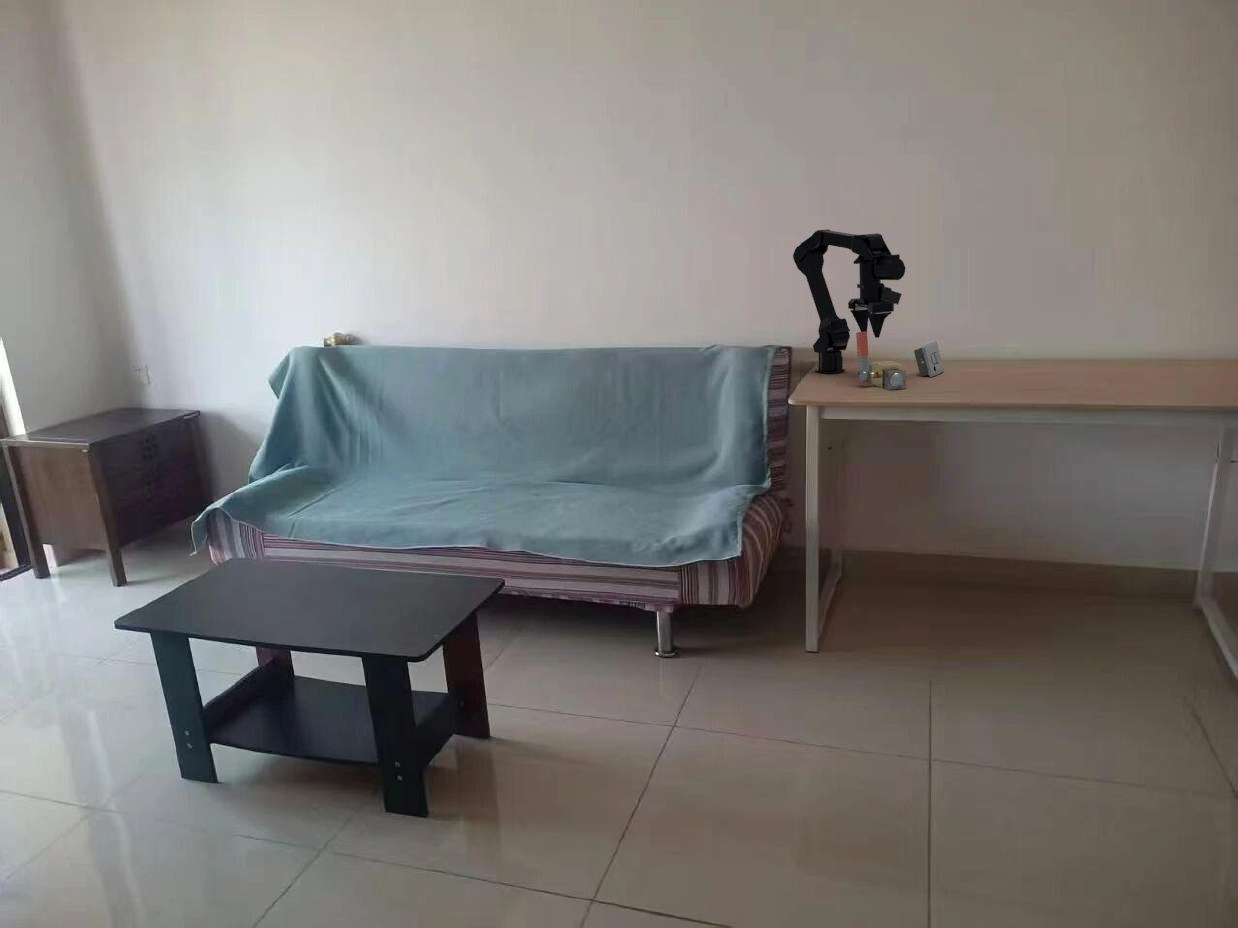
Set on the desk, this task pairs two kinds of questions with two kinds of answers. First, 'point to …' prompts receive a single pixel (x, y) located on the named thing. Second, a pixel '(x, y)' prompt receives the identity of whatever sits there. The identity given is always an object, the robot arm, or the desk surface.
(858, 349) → the lever
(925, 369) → the electrical switch
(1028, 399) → the desk surface
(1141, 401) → the desk surface
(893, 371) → the valve
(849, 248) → the robot arm
